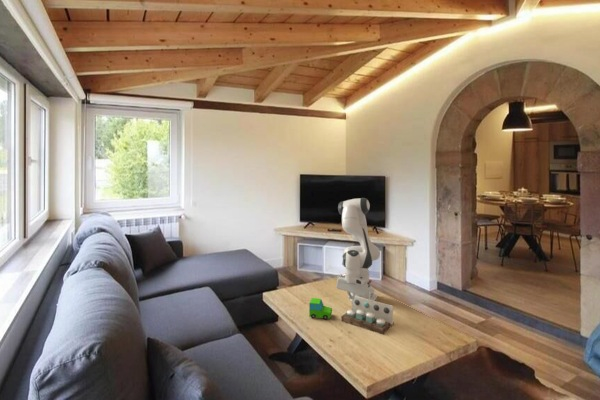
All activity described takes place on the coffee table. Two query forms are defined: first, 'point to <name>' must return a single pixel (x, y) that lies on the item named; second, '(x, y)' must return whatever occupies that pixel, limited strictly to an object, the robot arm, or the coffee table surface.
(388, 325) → the walnut button board
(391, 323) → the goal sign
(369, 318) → the button
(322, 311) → the toy car
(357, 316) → the button
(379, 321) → the button
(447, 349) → the coffee table surface
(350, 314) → the button
